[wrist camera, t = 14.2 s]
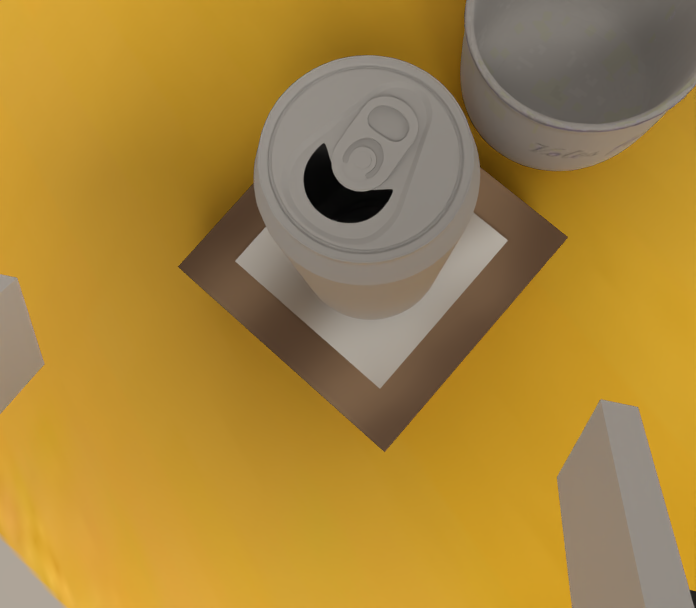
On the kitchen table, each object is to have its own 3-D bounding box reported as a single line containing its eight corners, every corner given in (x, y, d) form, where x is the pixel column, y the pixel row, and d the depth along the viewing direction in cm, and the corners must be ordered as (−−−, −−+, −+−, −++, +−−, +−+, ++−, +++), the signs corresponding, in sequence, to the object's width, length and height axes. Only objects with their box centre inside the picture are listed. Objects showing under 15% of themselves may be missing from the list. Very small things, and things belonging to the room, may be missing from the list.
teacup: (513, 225, 32) (558, 175, 24) (410, 70, 33) (420, -25, 25) (724, 97, 32) (838, 7, 24) (613, -51, 34) (686, -182, 26)
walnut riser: (538, 258, 32) (570, 235, 26) (383, 439, 31) (384, 452, 26) (356, 111, 33) (352, 62, 28) (204, 279, 32) (171, 261, 27)
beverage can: (275, 269, 27) (192, 185, 15) (356, 160, 27) (337, -5, 15) (386, 349, 26) (392, 329, 14) (467, 236, 26) (539, 124, 15)
